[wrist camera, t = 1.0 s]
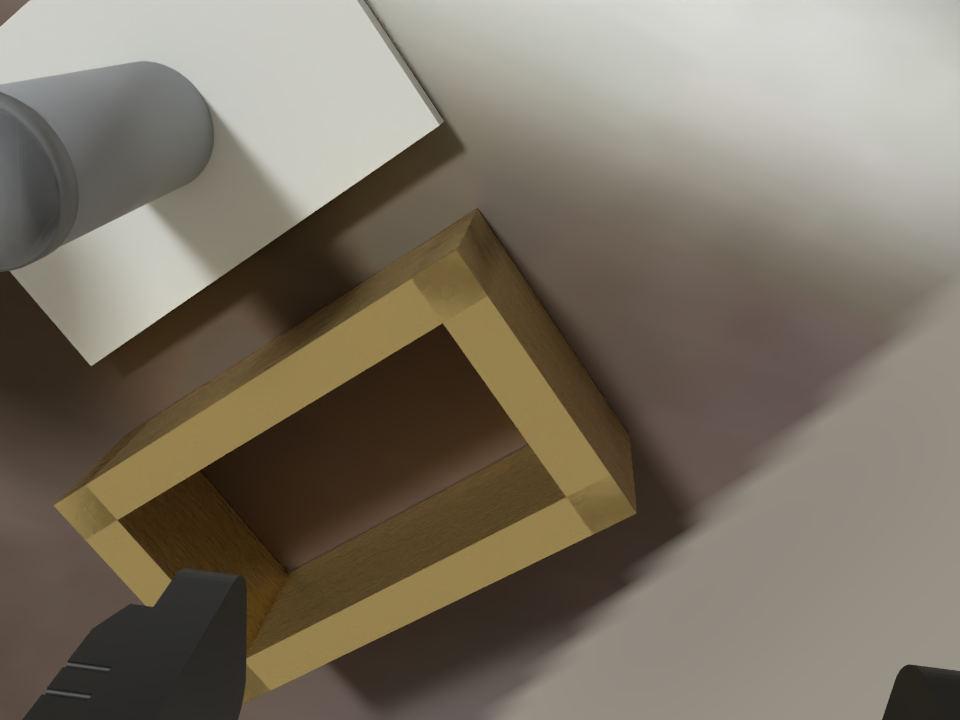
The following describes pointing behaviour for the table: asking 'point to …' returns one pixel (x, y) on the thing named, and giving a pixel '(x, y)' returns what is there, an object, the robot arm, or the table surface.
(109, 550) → the rectangular wooden frame
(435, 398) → the table surface
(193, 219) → the peg stand
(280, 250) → the table surface
